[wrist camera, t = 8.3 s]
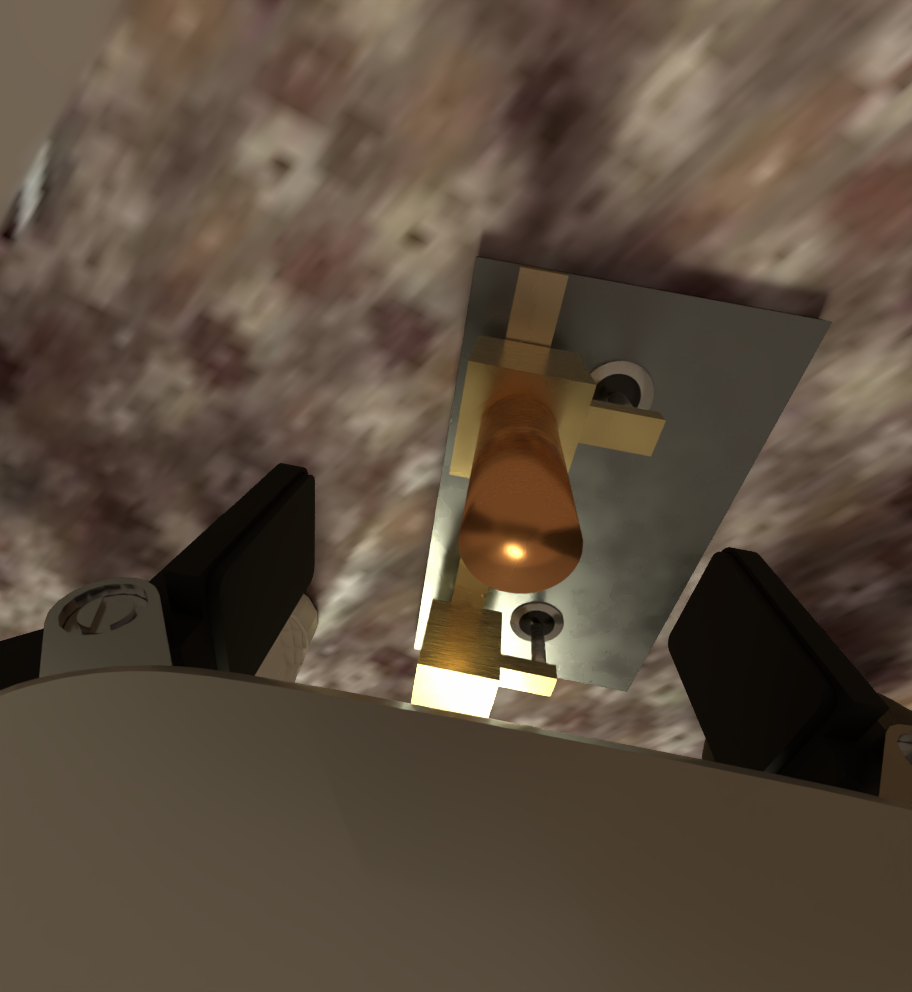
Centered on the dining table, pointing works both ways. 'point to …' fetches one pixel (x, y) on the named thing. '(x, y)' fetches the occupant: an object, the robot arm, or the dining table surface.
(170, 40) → the dining table surface
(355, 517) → the dining table surface
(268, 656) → the white cup
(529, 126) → the dining table surface
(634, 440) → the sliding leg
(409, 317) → the dining table surface
